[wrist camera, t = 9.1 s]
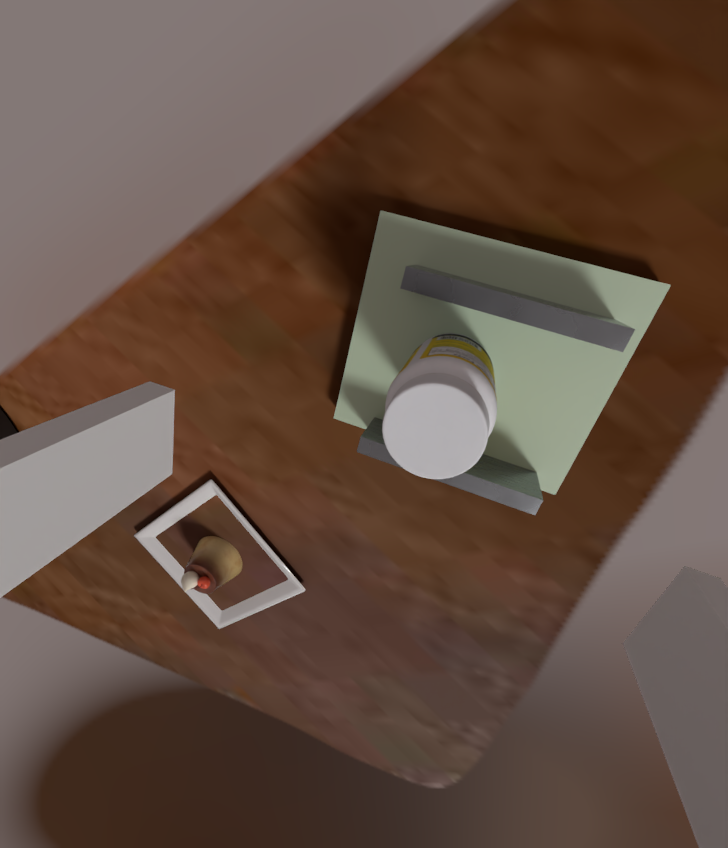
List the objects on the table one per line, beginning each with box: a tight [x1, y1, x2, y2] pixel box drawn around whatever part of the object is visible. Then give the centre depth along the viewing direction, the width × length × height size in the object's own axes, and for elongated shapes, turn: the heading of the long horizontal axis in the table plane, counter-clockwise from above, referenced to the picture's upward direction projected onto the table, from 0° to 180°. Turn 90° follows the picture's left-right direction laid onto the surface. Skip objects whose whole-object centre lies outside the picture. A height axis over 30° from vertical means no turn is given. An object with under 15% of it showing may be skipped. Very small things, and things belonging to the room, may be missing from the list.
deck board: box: [334, 210, 671, 495], centre depth 22 cm, size 14×12×1 cm
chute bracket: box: [357, 265, 635, 515], centre depth 21 cm, size 10×10×3 cm
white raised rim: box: [134, 479, 305, 629], centre depth 34 cm, size 12×12×5 cm
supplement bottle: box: [382, 333, 497, 479], centre depth 19 cm, size 5×5×8 cm
